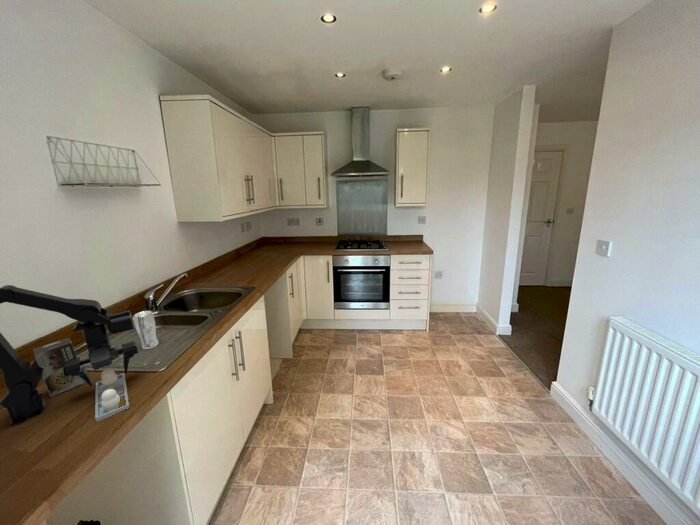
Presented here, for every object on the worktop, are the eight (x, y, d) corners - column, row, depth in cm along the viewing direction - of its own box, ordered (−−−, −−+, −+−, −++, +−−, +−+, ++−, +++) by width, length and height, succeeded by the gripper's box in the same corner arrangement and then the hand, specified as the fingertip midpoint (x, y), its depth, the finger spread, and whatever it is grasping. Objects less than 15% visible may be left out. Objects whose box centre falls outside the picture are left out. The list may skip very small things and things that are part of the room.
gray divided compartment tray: (96, 422, 84) (95, 418, 83) (97, 386, 100) (95, 382, 100) (129, 409, 88) (128, 404, 88) (124, 376, 105) (123, 372, 105)
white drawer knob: (103, 415, 86) (97, 397, 84) (103, 407, 89) (98, 390, 88) (122, 408, 89) (117, 390, 87) (121, 400, 92) (116, 383, 90)
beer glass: (162, 344, 126) (154, 312, 123) (143, 351, 121) (134, 318, 118) (157, 339, 131) (149, 309, 127) (139, 346, 126) (130, 314, 122)
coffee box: (82, 376, 106) (69, 336, 102) (85, 383, 102) (72, 342, 98) (47, 390, 100) (32, 348, 96) (49, 397, 96) (33, 354, 92)
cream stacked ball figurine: (103, 392, 97) (98, 375, 95) (103, 385, 100) (98, 369, 98) (119, 385, 99) (115, 369, 98) (119, 380, 103) (114, 364, 101)
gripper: (54, 359, 83) (70, 405, 87) (134, 336, 95) (145, 377, 99) (58, 345, 92) (73, 388, 96) (131, 325, 103) (141, 364, 107)
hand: (109, 379), depth 99 cm, fingers open, 9 cm apart
